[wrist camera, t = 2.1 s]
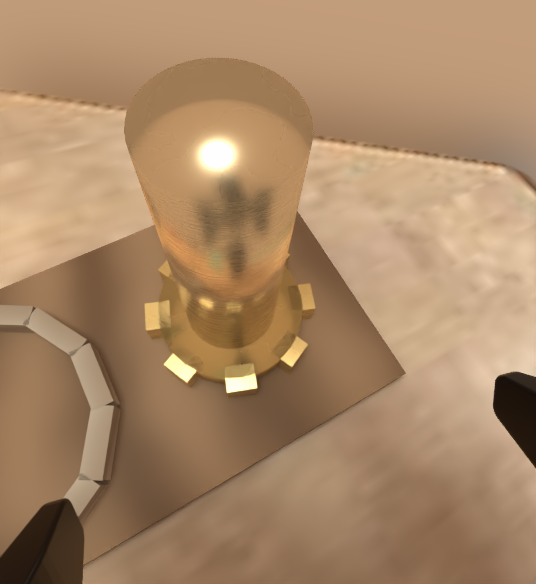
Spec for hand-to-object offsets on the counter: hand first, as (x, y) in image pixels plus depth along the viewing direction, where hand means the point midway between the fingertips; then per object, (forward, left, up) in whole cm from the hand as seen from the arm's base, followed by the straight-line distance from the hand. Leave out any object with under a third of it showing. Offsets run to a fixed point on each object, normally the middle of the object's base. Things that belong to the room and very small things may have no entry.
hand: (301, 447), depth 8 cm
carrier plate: (+7, -5, -13) cm, 16 cm away
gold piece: (+1, -7, -12) cm, 14 cm away
